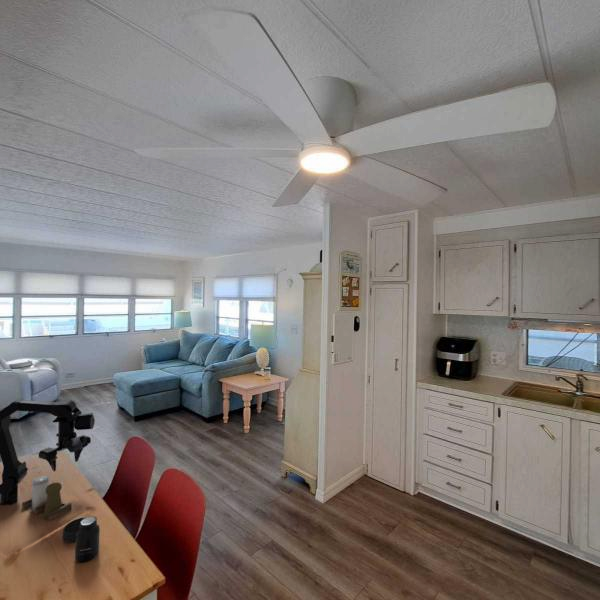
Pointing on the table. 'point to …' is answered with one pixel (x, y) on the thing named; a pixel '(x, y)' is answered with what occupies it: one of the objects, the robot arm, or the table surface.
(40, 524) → the table surface
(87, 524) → the supplement bottle
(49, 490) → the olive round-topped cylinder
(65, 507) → the walnut slot rack
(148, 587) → the table surface
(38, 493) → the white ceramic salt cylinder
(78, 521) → the black round bowl
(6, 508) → the table surface
